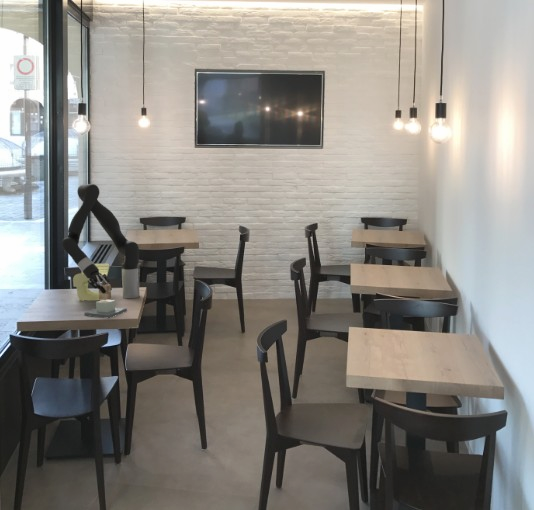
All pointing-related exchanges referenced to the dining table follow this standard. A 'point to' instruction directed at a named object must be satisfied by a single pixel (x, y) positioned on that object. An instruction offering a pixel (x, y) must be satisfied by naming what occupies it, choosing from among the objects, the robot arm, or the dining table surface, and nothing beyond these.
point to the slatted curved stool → (82, 283)
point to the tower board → (103, 314)
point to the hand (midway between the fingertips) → (107, 291)
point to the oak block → (107, 294)
